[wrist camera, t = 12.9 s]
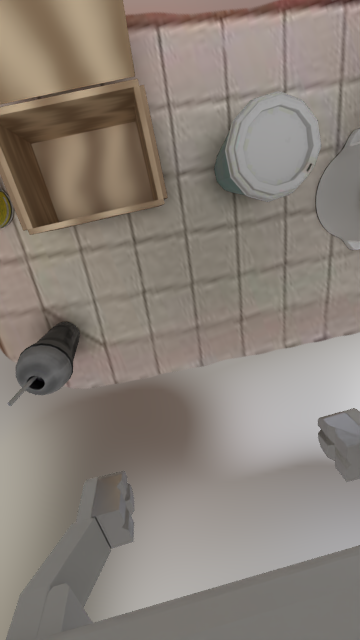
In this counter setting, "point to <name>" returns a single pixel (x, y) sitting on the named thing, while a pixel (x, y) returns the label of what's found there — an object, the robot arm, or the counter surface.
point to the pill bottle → (5, 209)
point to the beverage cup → (47, 361)
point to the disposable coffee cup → (269, 148)
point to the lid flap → (61, 46)
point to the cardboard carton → (80, 157)
